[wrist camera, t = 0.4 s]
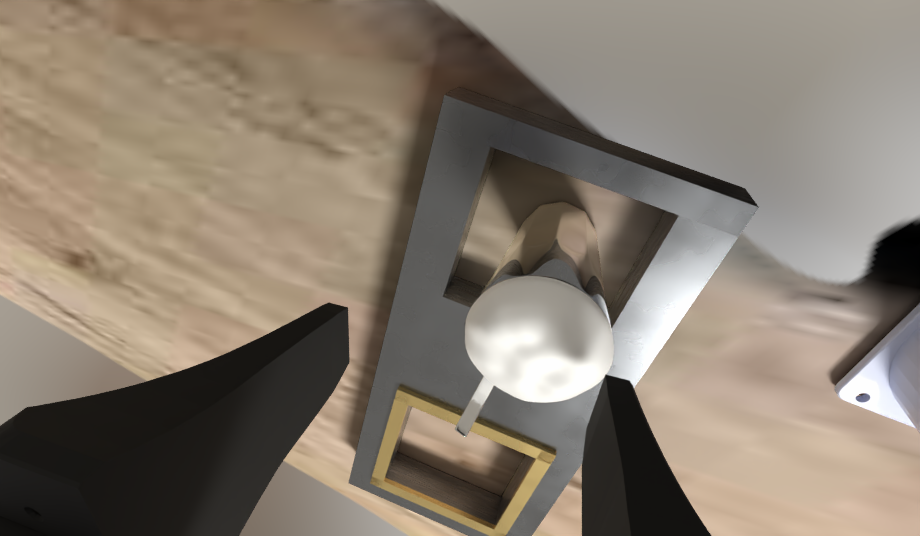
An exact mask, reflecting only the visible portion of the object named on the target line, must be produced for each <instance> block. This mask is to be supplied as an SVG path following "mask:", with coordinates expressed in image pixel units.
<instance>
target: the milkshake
mask: <svg viewBox="0 0 920 536" xmlns="http://www.w3.org/2000/svg"><path fill="white" fill-rule="evenodd" d="M465 345H466V350H467V353H468V355H469V357H470V359H471V361H472V362H473V364H474V365H475V366H476V368H477V369H478V370H479V371H480V372H481V374H482V375H483V378H482V380H481V382H480V384H479V385H478V387H477V389H476V391H475V393H474V394H473V396H472V398H471V400H470V402H469V403H468V405H467V407H466V409H465V411H464V412H463V414H462V416H461V418H460V419H459V421H458V423H457V425H456V427H455V430H456V431H457V432H459V433H460V434H461V435H462V436H464V437H466V436H467V435H468V433H469V431H470V429H471V427H472V426H473V424H474V422H475V420H476V418H477V416H478V414H479V413H480V411H481V409H482V407H483V405H484V403H485V401H486V399H487V398H488V396H489V394H490V392H491V390H492V388H493V386H496V387H497V388H499V389H501V390H503V391H504V392H506V393H508V394H510V395H512V396H514V397H516V398H518V399H521V400H523V401H528V402H541V403H548V402H558V401H564V400H568V399H570V398H573V397H575V396H577V395H579V394H581V393H583V392H585V391H587V390H589V389H591V388H592V387H594V386H595V385H597V384H598V383H599V382H600V381H601V380H602V379H603V378H604V377H605V374H607V373H608V371H609V369H610V367H611V365H612V361H613V356H614V342H613V335H612V329H611V324H610V318H609V313H608V308H607V303H606V298H605V293H604V286H603V278H602V271H601V263H600V256H599V249H598V242H597V234H596V230H595V229H594V227H593V225H592V223H591V221H590V219H589V218H588V216H587V214H586V212H585V211H583V210H581V209H579V208H577V207H574V206H572V205H570V204H568V203H566V202H558V203H551V204H544V205H540V206H539V207H538V208H537V209H536V210H535V211H534V212H533V213H532V214H531V215H530V216H529V217H528V218H527V219H526V220H525V221H524V222H523V224H522V226H521V227H520V229H519V231H518V233H517V234H516V236H515V238H514V240H513V241H512V243H511V245H510V246H509V248H508V250H507V252H506V253H505V255H504V257H503V259H502V260H501V262H500V264H499V266H498V268H497V269H496V271H495V272H494V274H493V275H492V277H491V278H490V280H489V282H488V283H487V285H486V286H485V288H484V289H483V291H482V292H481V294H480V295H479V297H478V298H477V300H476V301H475V303H474V304H473V305H472V307H471V308H470V310H469V312H468V315H467V318H466V324H465Z"/></svg>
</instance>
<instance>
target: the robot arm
mask: <svg viewBox="0 0 920 536" xmlns="http://www.w3.org/2000/svg"><path fill="white" fill-rule="evenodd" d="M348 364H349V329H348V307H344V306H340V305H336V304H332V303H327V304H325V305H322V306H320V307H318V308H317V309H315V310H313V311H311V312H309V313H307V314H305V315H303V316H301V317H299V318H298V319H296V320H294V321H292V322H290V323H288V324H286V325H284V326H282V327H280V328H278V329H276V330H275V331H273V332H271V333H269V334H267V335H265V336H263V337H261V338H259V339H256V340H254V341H252V342H250V343H248V344H246V345H244V346H241V347H239V348H237V349H235V350H233V351H231V352H228V353H226V354H224V355H221V356H219V357H217V358H214V359H212V360H209V361H206V362H204V363H201V364H198V365H196V366H193V367H190V368H188V369H185V370H182V371H179V372H176V373H172V374H169V375H166V376H163V377H160V378H156V379H153V380H150V381H147V382H144V383H140V384H137V385H133V386H129V387H125V388H121V389H117V390H113V391H109V392H105V393H100V394H96V395H91V396H87V397H82V398H77V399H71V400H66V401H61V402H55V403H50V404H44V405H39V406H33V407H27V408H25V409H24V410H22V411H21V412H19V413H18V414H17V415H15V416H14V417H12V418H11V419H9V420H8V421H7V422H5V423H4V424H2V425H1V426H0V536H239V535H240V533H241V531H242V529H243V527H244V526H245V524H246V522H247V520H248V519H249V517H250V515H251V513H252V511H253V510H254V508H255V506H256V504H257V503H258V501H259V499H260V497H261V495H262V494H263V492H264V491H265V489H266V487H267V486H268V484H269V482H270V481H271V479H272V477H273V476H274V474H275V472H276V471H277V469H278V467H279V466H280V464H281V463H282V462H283V460H284V459H285V457H286V456H287V454H288V453H289V452H290V450H291V449H292V447H293V446H294V445H295V443H296V442H297V441H298V439H299V438H300V437H301V435H302V434H303V433H304V431H305V430H306V429H307V427H308V426H309V424H310V423H311V422H312V420H313V419H314V418H315V416H316V415H317V414H318V412H319V411H320V409H321V408H322V407H323V405H324V404H325V403H326V401H327V400H328V398H329V397H330V396H331V394H332V393H333V391H334V389H335V388H336V386H337V384H338V382H339V381H340V379H341V377H342V375H343V373H344V371H345V369H346V368H347V366H348ZM835 392H836V393H837V395H838V397H839V398H840V399H842V400H844V401H847V402H849V403H852V404H854V405H857V406H860V407H862V408H865V409H867V410H870V411H873V412H875V413H878V414H880V415H883V416H885V417H888V418H891V419H893V420H896V421H898V422H901V423H904V424H906V425H909V426H911V427H914V428H916V429H917V430H918V432H919V433H920V303H919V304H918V305H917V306H916V307H915V308H914V309H913V310H912V311H911V312H910V313H909V314H908V315H907V316H906V317H905V318H904V319H903V320H902V321H901V322H900V323H899V324H898V325H897V326H896V327H895V328H894V329H893V330H892V331H891V332H890V333H888V334H887V335H886V336H885V337H884V338H883V339H882V340H881V341H880V342H879V343H878V344H877V345H876V346H875V347H874V348H873V349H872V350H871V351H870V352H869V353H868V354H867V355H866V356H865V357H864V358H863V359H862V360H861V361H860V362H859V363H858V364H857V365H856V366H855V367H854V368H852V369H851V370H850V371H849V372H848V373H847V374H846V375H845V376H844V377H843V378H842V379H841V380H840V381H839V382H838V383H837V384H836V386H835ZM862 393H865V394H864V395H862V396H857V395H859V394H862ZM582 536H711V535H710V533H709V532H708V530H707V529H706V527H705V526H704V524H703V523H702V521H701V519H700V518H699V516H698V515H697V513H696V512H695V510H694V509H693V507H692V505H691V504H690V502H689V501H688V499H687V497H686V495H685V494H684V492H683V490H682V489H681V487H680V485H679V483H678V482H677V480H676V478H675V476H674V474H673V473H672V471H671V469H670V467H669V465H668V463H667V461H666V459H665V457H664V455H663V453H662V451H661V449H660V447H659V445H658V443H657V441H656V439H655V437H654V435H653V433H652V431H651V428H650V426H649V424H648V422H647V419H646V417H645V415H644V413H643V410H642V408H641V405H640V403H639V400H638V398H637V395H636V393H635V390H634V387H633V385H632V383H631V382H630V381H629V380H625V379H621V378H618V377H614V376H610V375H606V374H605V377H604V380H603V382H602V385H601V388H600V391H599V394H598V397H597V400H596V403H595V405H594V408H593V411H592V414H591V417H590V420H589V423H588V425H587V428H586V435H585V444H584V452H583V461H582Z"/></svg>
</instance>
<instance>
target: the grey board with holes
mask: <svg viewBox="0 0 920 536" xmlns="http://www.w3.org/2000/svg"><path fill="white" fill-rule="evenodd" d="M495 149H498V150H501V151H504V152H506V153H509V154H512V155H515V156H517V157H520V158H523V159H526V160H528V161H531V162H534V163H537V164H539V165H542V166H545V167H548V168H550V169H553V170H556V171H559V172H561V173H564V174H567V175H570V176H572V177H575V178H578V179H581V180H583V181H586V182H589V183H592V184H594V185H597V186H600V187H603V188H605V189H608V190H611V191H614V192H616V193H619V194H622V195H625V196H627V197H630V198H633V199H636V200H638V201H641V202H644V203H647V204H649V205H652V206H655V207H657V208H660V209H663V210H665V211H664V213H663V215H662V216H661V218H660V220H659V222H658V223H657V225H656V227H655V229H654V230H653V232H652V234H651V236H650V237H649V239H648V241H647V243H646V244H645V246H644V248H643V250H642V251H641V253H640V255H639V257H638V258H637V260H636V262H635V264H634V265H633V267H632V269H631V271H630V272H629V274H628V276H627V278H626V279H625V281H624V283H623V285H622V286H621V288H620V290H619V292H618V293H617V295H616V297H615V299H614V300H613V302H612V304H611V306H610V307H609V309H608V313H609V318H610V324H611V329H612V335H613V342H614V356H613V361H612V365H611V367H610V369H609V371H608V373H607V374H606V375H610V376H614V377H618V378H621V379H625V380H629V381H630V382H631V383H632V385H633V387H635V386H636V384H637V383H638V381H639V380H640V378H641V377H642V376H643V374H644V373H645V371H646V370H647V368H648V367H649V365H650V364H651V363H652V361H653V360H654V358H655V357H656V355H657V354H658V352H659V351H660V350H661V348H662V347H663V345H664V344H665V342H666V341H667V339H668V338H669V337H670V335H671V334H672V332H673V331H674V329H675V328H676V326H677V325H678V324H679V322H680V321H681V319H682V318H683V316H684V315H685V313H686V312H687V311H688V309H689V308H690V306H691V305H692V303H693V302H694V300H695V299H696V298H697V296H698V295H699V293H700V292H701V290H702V289H703V287H704V286H705V285H706V283H707V282H708V280H709V279H710V277H711V276H712V274H713V273H714V272H715V270H716V269H717V267H718V266H719V264H720V263H721V261H722V260H723V258H724V257H725V256H726V254H727V253H728V251H729V250H730V248H731V247H732V245H733V244H734V243H735V241H736V240H737V238H738V237H739V235H740V234H741V232H742V231H743V230H744V228H745V227H746V225H747V224H748V222H749V221H750V219H751V218H752V216H753V215H754V214H755V212H756V211H757V209H758V208H759V207H758V206H757V204H756V203H755V201H754V200H753V199H752V197H751V196H750V195H749V193H748V192H747V190H746V189H745V188H742V187H740V186H737V185H734V184H731V183H728V182H725V181H723V180H720V179H717V178H714V177H711V176H708V175H706V174H703V173H700V172H697V171H694V170H691V169H689V168H686V167H683V166H680V165H677V164H675V163H671V162H669V161H666V160H663V159H661V158H658V157H655V156H652V155H649V154H647V153H644V152H641V151H638V150H635V149H632V148H630V147H627V146H624V145H621V144H618V143H616V142H613V141H610V140H607V139H604V138H601V137H599V136H596V135H593V134H590V133H587V132H585V131H582V130H579V129H576V128H573V127H570V126H568V125H565V124H562V123H559V122H556V121H554V120H551V119H548V118H545V117H542V116H539V115H537V114H534V113H531V112H528V111H525V110H523V109H520V108H517V107H514V106H511V105H508V104H506V103H503V102H500V101H497V100H494V99H492V98H489V97H486V96H483V95H480V94H477V93H475V92H472V91H469V90H466V89H463V88H461V87H457V88H455V89H454V90H452V91H450V92H448V93H447V94H445V95H444V98H443V102H442V106H441V110H440V114H439V119H438V123H437V127H436V131H435V135H434V139H433V143H432V147H431V151H430V155H429V159H428V163H427V167H426V171H425V175H424V179H423V183H422V187H421V191H420V195H419V200H418V204H417V208H416V212H415V216H414V220H413V224H412V228H411V232H410V236H409V240H408V244H407V248H406V252H405V256H404V260H403V264H402V268H401V272H400V276H399V281H398V285H397V289H396V293H395V297H394V301H393V305H392V309H391V313H390V317H389V321H388V325H387V329H386V333H385V337H384V341H383V345H382V349H381V353H380V358H379V362H378V366H377V370H376V374H375V378H374V382H373V386H372V390H371V394H370V398H369V402H368V406H367V410H366V414H365V418H364V422H363V426H362V430H361V434H360V439H359V443H358V447H357V451H356V455H355V459H354V463H353V467H352V471H351V475H350V479H349V483H350V484H352V485H354V486H356V487H359V488H361V489H363V490H365V491H368V492H370V493H372V494H375V495H377V496H379V497H381V498H384V499H386V500H388V501H390V502H393V503H395V504H397V505H400V506H402V507H404V508H406V509H409V510H411V511H413V512H416V513H418V514H420V515H422V516H425V517H427V518H429V519H431V520H434V521H436V522H438V523H441V524H443V525H445V526H447V527H450V528H452V529H454V530H456V531H459V532H461V533H463V534H466V535H468V536H532V535H533V533H534V532H535V530H536V529H537V527H538V526H539V525H540V523H541V522H542V520H543V519H544V517H545V516H546V514H547V513H548V512H549V510H550V509H551V507H552V506H553V504H554V503H555V501H556V500H557V498H558V497H559V496H560V494H561V493H562V491H563V490H564V488H565V487H566V485H567V484H568V483H569V481H570V480H571V478H572V477H573V475H574V474H575V472H576V471H577V470H578V468H579V467H580V465H581V464H582V461H583V452H584V444H585V435H586V428H587V425H588V423H589V420H590V417H591V414H592V411H593V408H594V405H595V403H596V400H597V397H598V394H599V391H600V388H601V385H602V382H603V380H604V378H603V379H602V380H601V381H600V382H599V383H598V384H597V385H595V386H594V387H592V388H591V389H589V390H587V391H585V392H583V393H581V394H579V395H577V396H575V397H573V398H570V399H568V400H564V401H558V402H548V403H541V402H528V401H523V400H521V399H518V398H516V397H514V396H512V395H510V394H508V393H506V392H504V391H503V390H501V389H499V388H497V387H496V386H493V388H492V390H491V392H490V394H489V396H488V398H487V399H486V401H485V403H484V405H483V407H482V409H481V411H480V413H479V414H478V416H477V418H476V420H475V422H474V424H473V426H472V427H471V429H470V431H471V432H474V433H476V434H478V435H481V436H483V437H486V438H488V439H490V440H493V441H495V442H498V443H500V444H502V445H505V446H507V447H509V448H512V449H514V450H517V451H519V452H521V453H524V454H525V456H524V458H523V459H522V461H521V463H520V465H519V466H518V468H517V470H516V472H515V473H514V475H513V477H512V479H511V480H510V482H509V484H508V486H507V487H506V489H505V491H504V493H503V494H502V496H501V497H500V496H498V495H495V494H493V493H491V492H488V491H486V490H484V489H481V488H479V487H477V486H474V485H472V484H470V483H467V482H465V481H463V480H460V479H458V478H456V477H453V476H451V475H449V474H446V473H444V472H442V471H439V470H437V469H435V468H432V467H430V466H428V465H425V464H423V463H421V462H418V461H416V460H414V459H411V458H409V457H407V456H404V455H402V454H400V453H397V451H398V448H399V445H400V442H401V439H402V435H403V432H404V429H405V426H406V423H407V420H408V417H409V414H410V411H411V408H412V407H414V408H416V409H419V410H421V411H424V412H426V413H428V414H431V415H433V416H436V417H438V418H440V419H443V420H445V421H447V422H450V423H452V424H455V425H457V423H458V421H459V419H460V418H461V416H462V414H463V412H464V411H465V409H466V407H467V405H468V403H469V402H470V400H471V398H472V396H473V394H474V393H475V391H476V389H477V387H478V385H479V384H480V382H481V380H482V378H483V375H482V374H481V372H480V371H479V370H478V369H477V368H476V366H475V365H474V364H473V362H472V361H471V359H470V357H469V355H468V353H467V350H466V345H465V324H466V318H467V315H468V312H469V310H470V308H471V307H472V305H473V304H474V303H475V301H476V300H477V298H478V297H479V295H480V294H481V292H482V291H483V289H484V287H481V286H479V285H476V284H474V283H471V282H468V281H466V280H463V279H461V278H458V277H456V276H454V275H455V272H456V269H457V266H458V263H459V260H460V257H461V254H462V251H463V248H464V245H465V242H466V238H467V235H468V232H469V229H470V226H471V223H472V220H473V217H474V214H475V211H476V208H477V205H478V201H479V198H480V195H481V192H482V189H483V186H484V183H485V180H486V177H487V174H488V171H489V168H490V165H491V161H492V158H493V155H494V152H495Z"/></svg>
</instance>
